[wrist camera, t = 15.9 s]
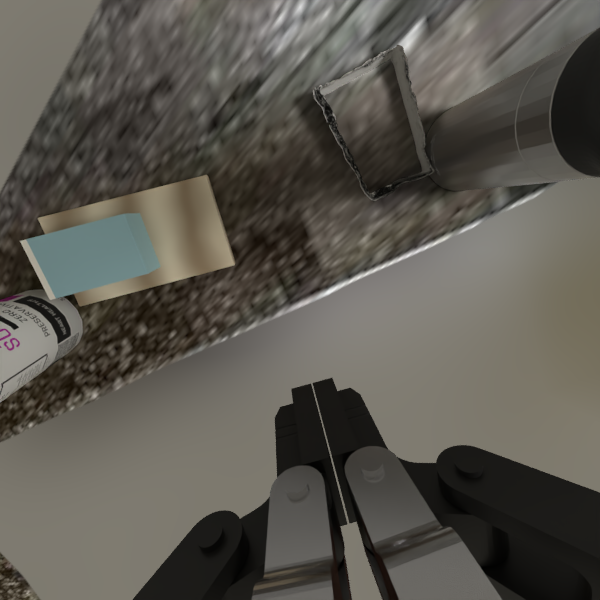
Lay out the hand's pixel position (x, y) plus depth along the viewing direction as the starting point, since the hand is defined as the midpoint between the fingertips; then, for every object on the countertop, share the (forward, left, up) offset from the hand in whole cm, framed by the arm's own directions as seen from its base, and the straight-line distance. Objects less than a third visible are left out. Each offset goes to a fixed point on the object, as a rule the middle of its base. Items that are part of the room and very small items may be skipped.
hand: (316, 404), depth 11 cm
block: (+13, -7, -25) cm, 29 cm away
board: (+14, -7, -29) cm, 33 cm away
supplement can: (+28, -1, -29) cm, 40 cm away
